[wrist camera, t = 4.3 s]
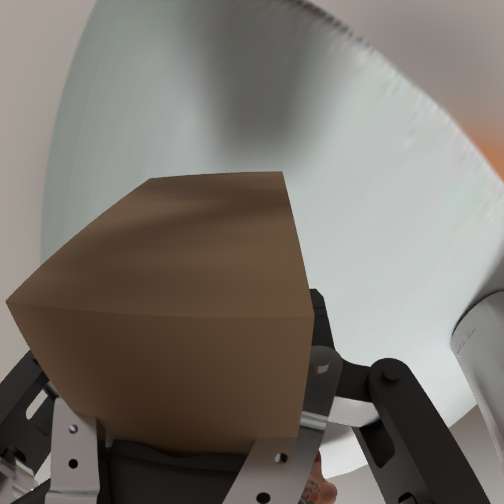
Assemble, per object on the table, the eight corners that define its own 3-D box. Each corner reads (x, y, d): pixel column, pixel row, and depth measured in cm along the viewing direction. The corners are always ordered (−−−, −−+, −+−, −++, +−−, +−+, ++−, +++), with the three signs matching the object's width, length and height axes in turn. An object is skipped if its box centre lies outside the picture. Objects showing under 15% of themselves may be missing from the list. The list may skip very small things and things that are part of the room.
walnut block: (282, 171, 11) (314, 316, 4) (280, 352, 15) (283, 503, 8) (150, 178, 11) (5, 301, 4) (184, 350, 15) (146, 490, 8)
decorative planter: (199, 450, 39) (191, 527, 27) (221, 422, 33) (213, 523, 21) (312, 463, 42) (317, 531, 30) (352, 436, 36) (365, 518, 24)
